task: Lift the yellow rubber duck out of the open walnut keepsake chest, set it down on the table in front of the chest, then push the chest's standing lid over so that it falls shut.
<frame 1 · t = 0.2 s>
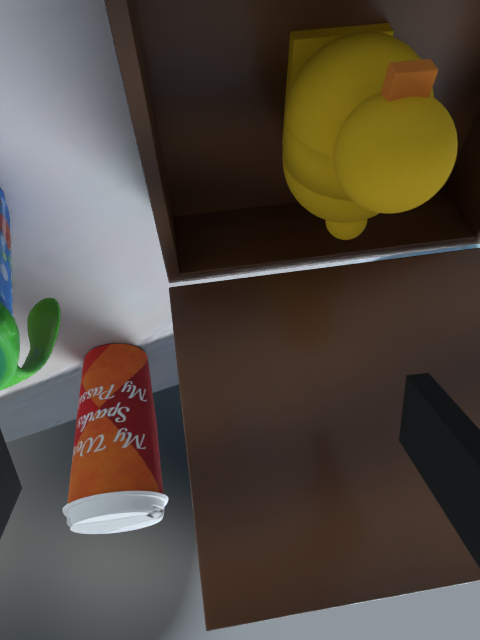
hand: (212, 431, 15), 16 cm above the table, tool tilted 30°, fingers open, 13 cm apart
paper cup: (115, 357, 41), on the table
lid: (354, 417, 25), point 13 cm above the table, hinge at 104.1°
duck: (329, 89, 22), point 1 cm above the table, touching chest
chest: (326, 81, 22), on the table
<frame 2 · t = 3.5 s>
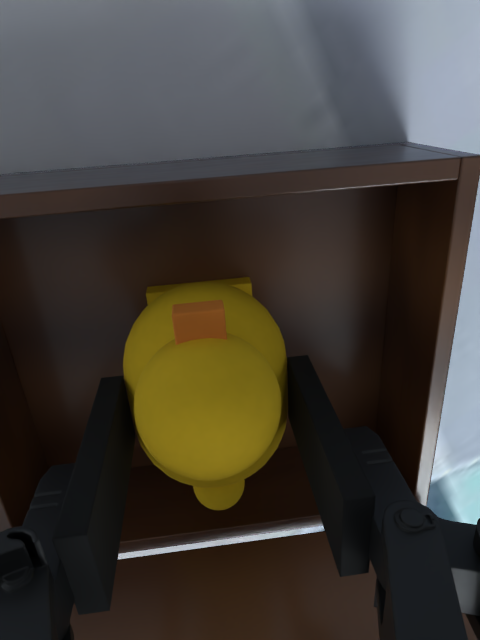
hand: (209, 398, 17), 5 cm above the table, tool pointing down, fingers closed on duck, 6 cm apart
duck: (204, 338, 21), point 1 cm above the table, touching chest, gripper
chest: (204, 331, 21), on the table
when the fingers open (5 cm above the table, at t = 9.9 s): duck stays where it is, on the table.
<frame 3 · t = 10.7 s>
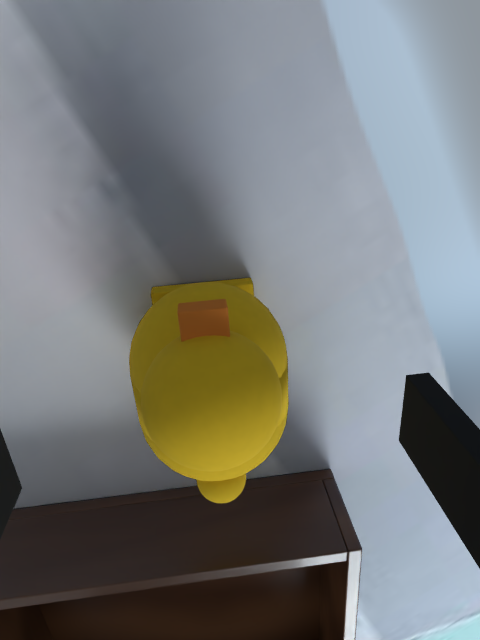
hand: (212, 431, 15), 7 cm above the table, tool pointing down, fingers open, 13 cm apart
duck: (207, 337, 21), on the table
chest: (184, 580, 28), on the table
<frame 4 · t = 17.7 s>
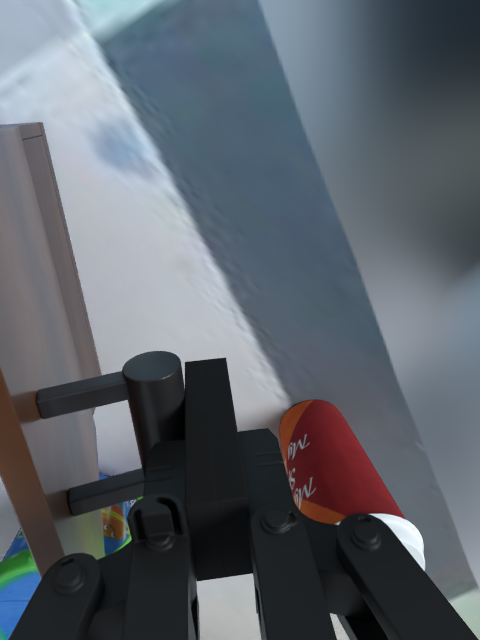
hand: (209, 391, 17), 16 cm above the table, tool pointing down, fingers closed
snack cup: (87, 497, 40), on the table
paper cup: (310, 425, 39), on the table
lid: (102, 360, 20), point 13 cm above the table, hinge at 102.4°
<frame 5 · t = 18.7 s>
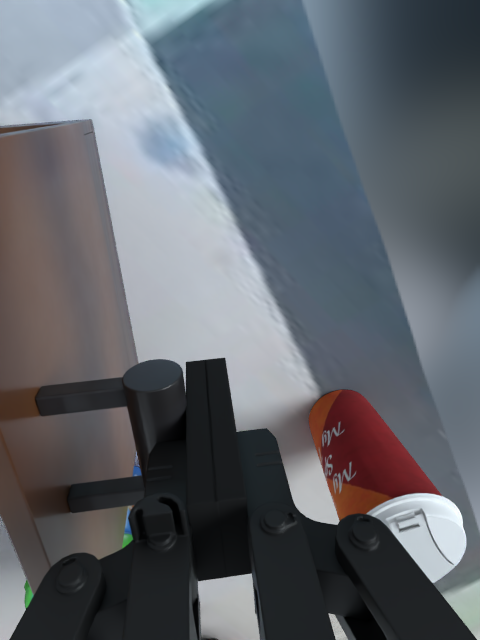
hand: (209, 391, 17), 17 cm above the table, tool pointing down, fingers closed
snack cup: (120, 489, 41), on the table
paper cup: (338, 414, 40), on the table
lid: (131, 358, 20), point 14 cm above the table, hinge at 88.6°, touching gripper
chest: (5, 274, 31), on the table
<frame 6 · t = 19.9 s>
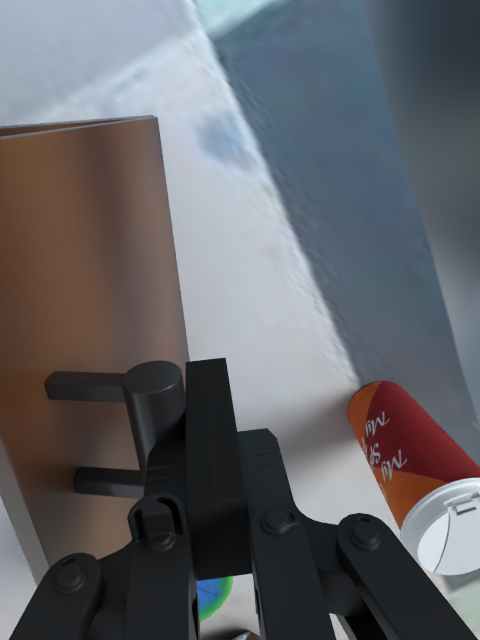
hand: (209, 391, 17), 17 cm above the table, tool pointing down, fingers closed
snack cup: (161, 481, 41), on the table
paper cup: (376, 406, 41), on the table
lid: (166, 352, 20), point 14 cm above the table, hinge at 72.7°, touching gripper
chest: (62, 267, 32), on the table
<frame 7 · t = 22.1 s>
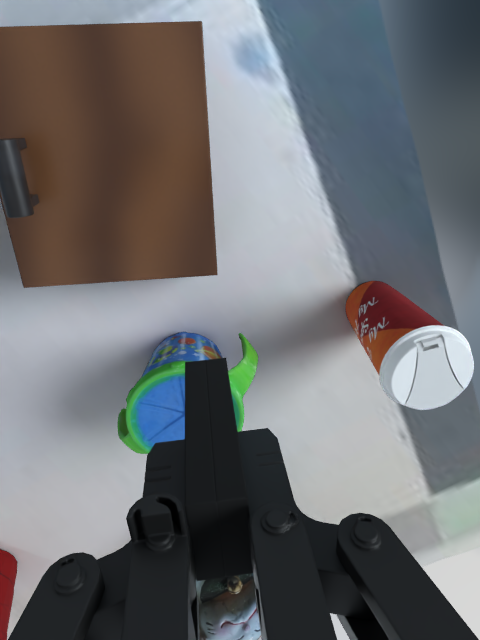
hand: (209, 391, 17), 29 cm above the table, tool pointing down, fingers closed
lucky cat figurine: (227, 540, 62), on the table
snack cup: (186, 359, 50), on the table
paper cup: (370, 304, 49), on the table
lid: (99, 171, 33), point 8 cm above the table, hinge at -0.1°
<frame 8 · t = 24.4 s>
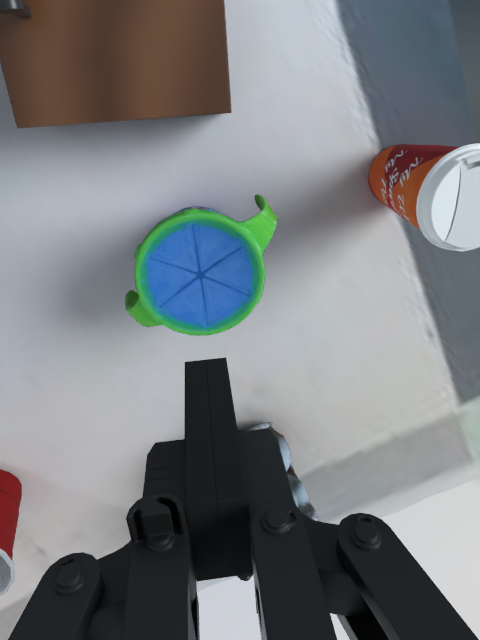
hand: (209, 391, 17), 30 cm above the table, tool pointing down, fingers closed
lucky cat figurine: (244, 459, 59), on the table
snack cup: (197, 242, 46), on the table
paper cup: (394, 175, 45), on the table
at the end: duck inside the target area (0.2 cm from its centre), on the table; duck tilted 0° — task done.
